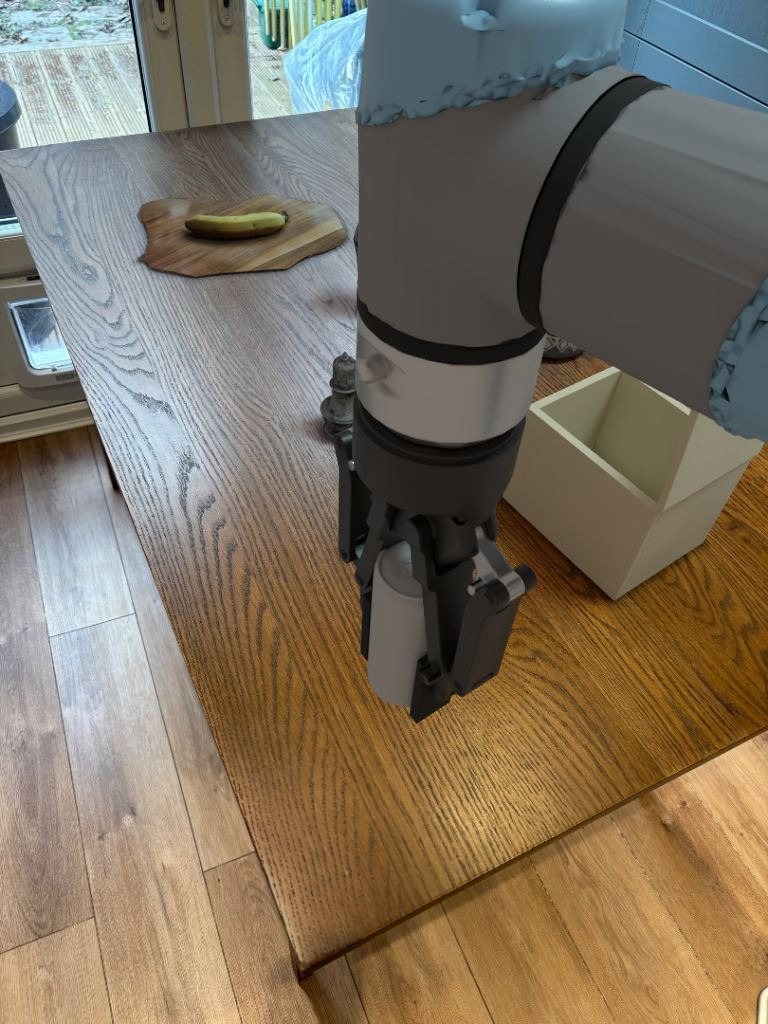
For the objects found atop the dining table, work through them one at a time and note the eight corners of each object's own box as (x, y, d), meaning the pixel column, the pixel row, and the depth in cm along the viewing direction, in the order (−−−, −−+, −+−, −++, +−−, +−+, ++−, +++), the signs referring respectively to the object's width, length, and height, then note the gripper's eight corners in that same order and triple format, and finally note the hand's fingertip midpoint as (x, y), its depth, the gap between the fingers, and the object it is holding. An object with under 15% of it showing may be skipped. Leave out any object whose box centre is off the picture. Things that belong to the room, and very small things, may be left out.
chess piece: (356, 450, 93) (359, 372, 84) (312, 437, 94) (311, 359, 85) (372, 421, 97) (377, 344, 88) (330, 409, 98) (331, 332, 89)
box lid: (721, 323, 56) (730, 328, 56) (832, 271, 63) (841, 275, 62) (655, 507, 69) (662, 512, 69) (753, 448, 76) (760, 453, 75)
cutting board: (139, 283, 115) (134, 261, 112) (132, 202, 133) (128, 180, 130) (360, 265, 123) (361, 243, 120) (326, 190, 140) (326, 169, 137)
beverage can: (450, 702, 48) (476, 590, 40) (378, 720, 47) (388, 609, 38) (426, 640, 51) (445, 524, 43) (358, 656, 50) (363, 540, 42)
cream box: (502, 497, 89) (525, 406, 79) (589, 451, 96) (622, 361, 85) (614, 601, 80) (657, 513, 69) (703, 542, 86) (754, 454, 76)
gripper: (260, 321, 35) (285, 609, 52) (517, 571, 26) (444, 823, 43) (390, 278, 38) (373, 563, 55) (660, 486, 29) (539, 753, 46)
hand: (404, 676), depth 49 cm, fingers closed on beverage can, 5 cm apart
